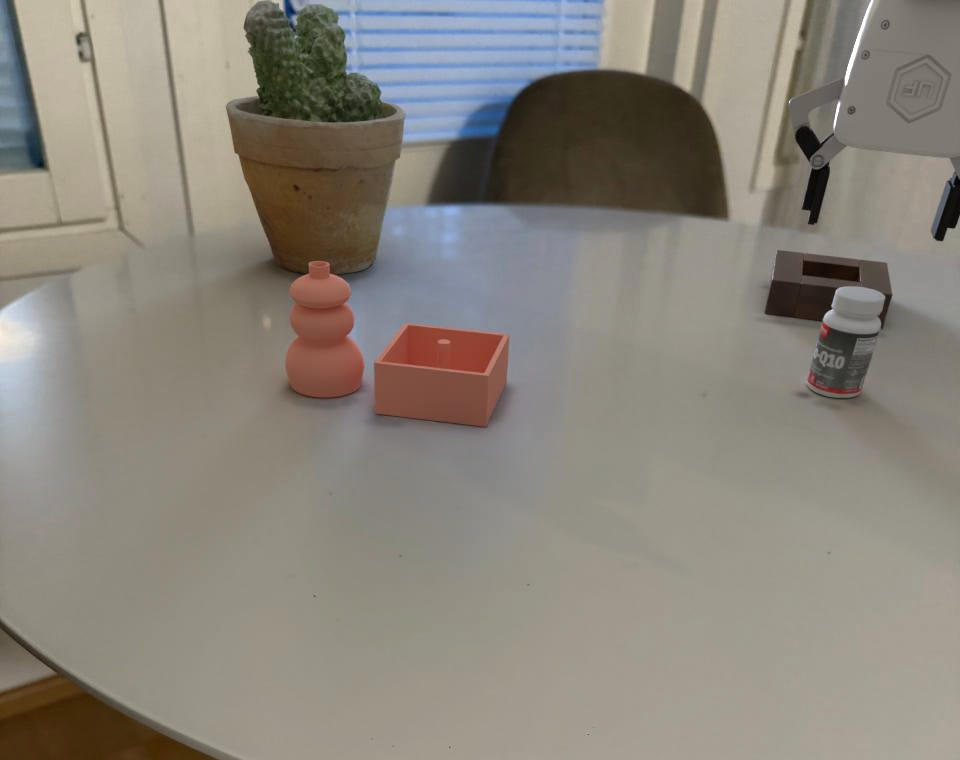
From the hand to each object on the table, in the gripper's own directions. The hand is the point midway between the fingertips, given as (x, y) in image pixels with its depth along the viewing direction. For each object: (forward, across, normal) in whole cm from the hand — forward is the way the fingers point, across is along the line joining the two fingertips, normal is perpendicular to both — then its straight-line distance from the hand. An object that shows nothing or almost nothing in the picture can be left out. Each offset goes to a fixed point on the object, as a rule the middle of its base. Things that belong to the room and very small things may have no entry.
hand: (873, 228), depth 76 cm
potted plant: (+14, -56, +17) cm, 60 cm away
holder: (+13, 0, +25) cm, 28 cm away
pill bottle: (+14, 0, 0) cm, 14 cm away
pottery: (+14, -36, -15) cm, 41 cm away
